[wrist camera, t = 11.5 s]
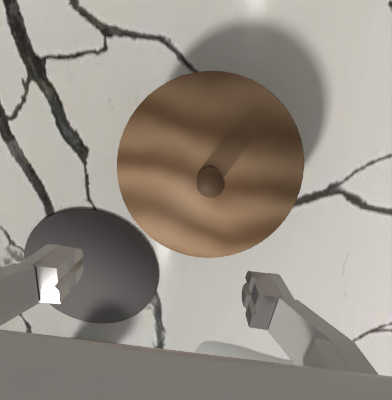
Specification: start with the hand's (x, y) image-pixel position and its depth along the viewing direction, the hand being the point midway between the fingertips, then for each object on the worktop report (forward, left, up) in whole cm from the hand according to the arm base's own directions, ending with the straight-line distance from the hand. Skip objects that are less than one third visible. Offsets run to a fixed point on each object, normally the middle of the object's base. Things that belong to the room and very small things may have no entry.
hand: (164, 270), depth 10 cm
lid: (-2, +3, -19) cm, 19 cm away
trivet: (+22, -17, -25) cm, 38 cm away
